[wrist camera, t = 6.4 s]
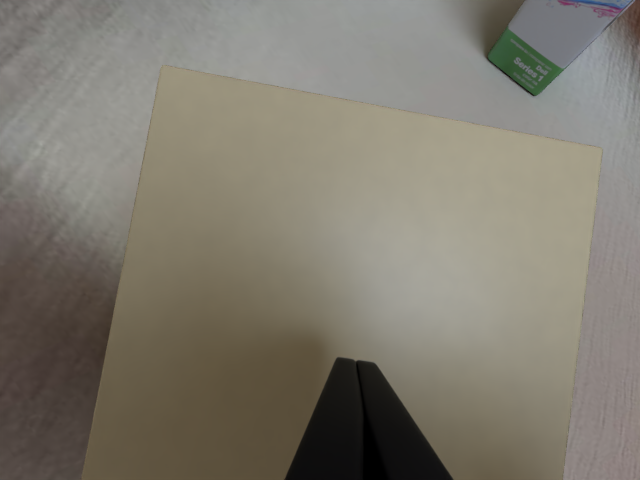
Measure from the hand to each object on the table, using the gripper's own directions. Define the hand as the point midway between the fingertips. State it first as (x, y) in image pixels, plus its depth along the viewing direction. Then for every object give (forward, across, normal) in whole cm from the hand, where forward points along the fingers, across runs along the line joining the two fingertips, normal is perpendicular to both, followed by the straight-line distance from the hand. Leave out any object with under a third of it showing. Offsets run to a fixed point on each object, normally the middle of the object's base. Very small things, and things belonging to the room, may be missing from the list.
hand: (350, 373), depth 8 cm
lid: (+3, 0, 0) cm, 3 cm away
